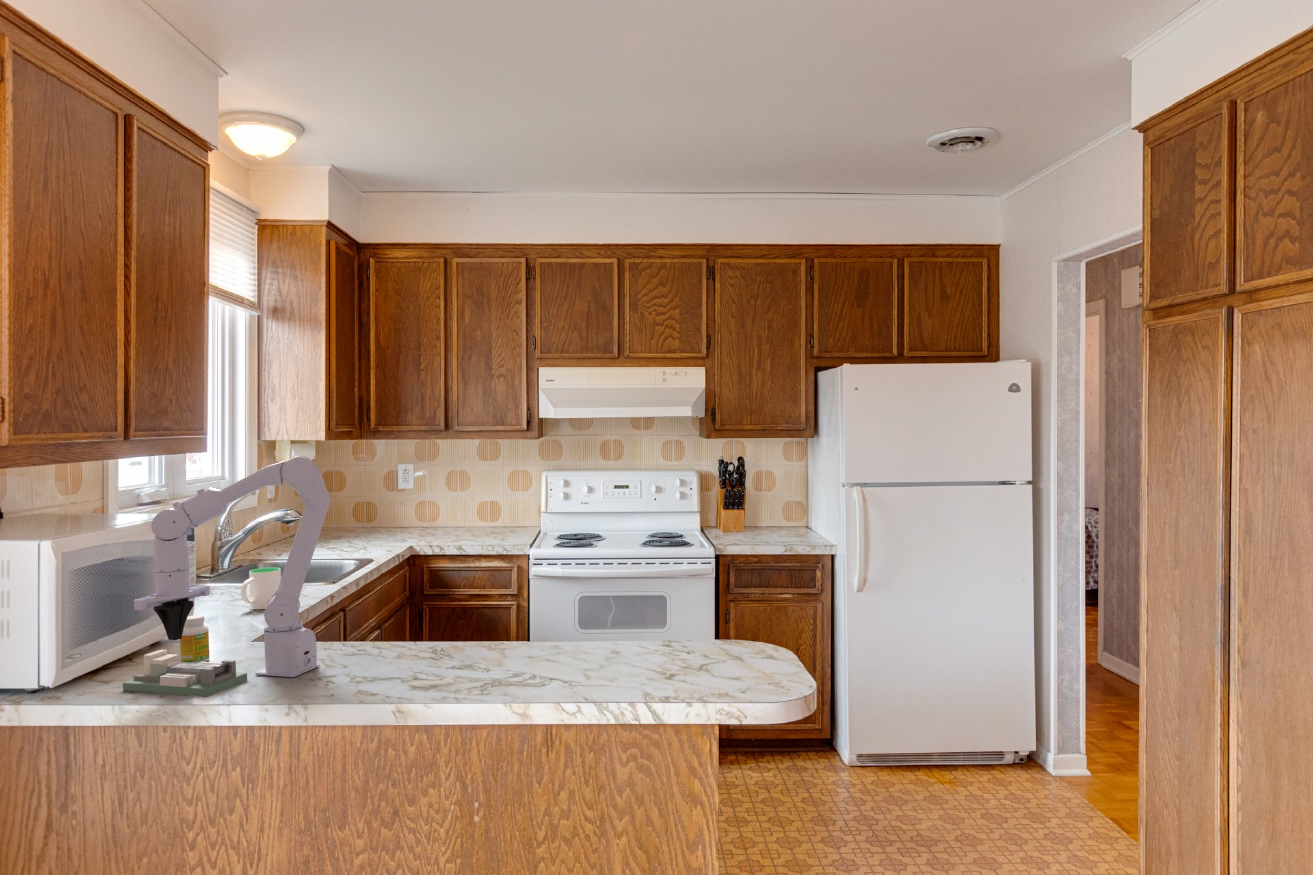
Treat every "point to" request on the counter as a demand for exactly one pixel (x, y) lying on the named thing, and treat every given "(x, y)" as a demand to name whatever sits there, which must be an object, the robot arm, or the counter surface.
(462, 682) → the counter surface
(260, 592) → the mug
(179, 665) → the strap
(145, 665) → the clip
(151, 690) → the heatsink board
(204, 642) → the supplement bottle
